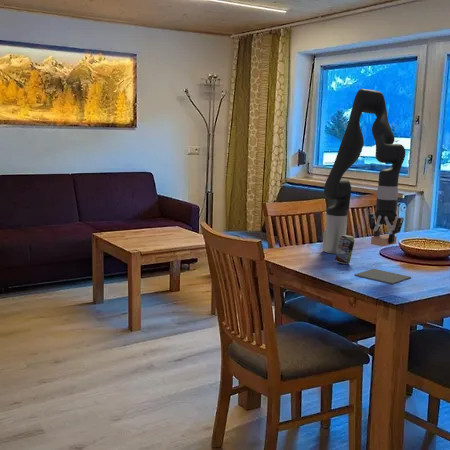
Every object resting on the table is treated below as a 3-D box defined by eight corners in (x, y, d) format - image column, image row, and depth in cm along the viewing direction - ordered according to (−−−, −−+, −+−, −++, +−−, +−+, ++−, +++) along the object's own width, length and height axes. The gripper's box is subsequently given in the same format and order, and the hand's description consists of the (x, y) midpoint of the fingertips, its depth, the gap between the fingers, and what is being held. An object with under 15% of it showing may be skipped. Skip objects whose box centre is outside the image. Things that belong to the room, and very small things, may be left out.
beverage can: (332, 262, 241) (334, 234, 239) (347, 261, 244) (349, 233, 242) (340, 265, 235) (342, 236, 233) (355, 264, 238) (357, 236, 236)
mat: (354, 275, 220) (354, 274, 220) (373, 269, 230) (373, 268, 230) (392, 284, 209) (392, 283, 209) (410, 278, 219) (410, 276, 219)
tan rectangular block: (384, 241, 222) (385, 234, 221) (396, 243, 218) (396, 236, 217) (370, 244, 216) (371, 236, 215) (382, 246, 212) (382, 238, 212)
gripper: (409, 199, 212) (406, 244, 214) (375, 195, 222) (372, 238, 225) (399, 200, 206) (395, 246, 209) (364, 196, 216) (361, 240, 219)
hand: (383, 242), depth 217 cm, fingers closed on tan rectangular block, 5 cm apart
